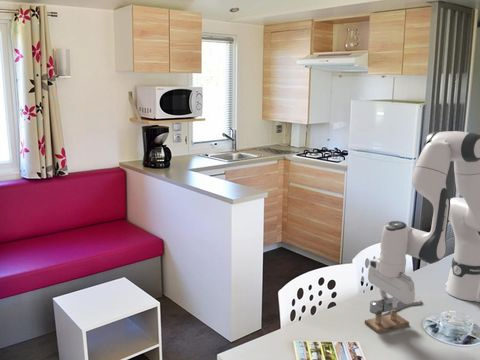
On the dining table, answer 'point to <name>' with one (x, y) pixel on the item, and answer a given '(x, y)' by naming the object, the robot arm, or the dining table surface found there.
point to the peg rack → (386, 322)
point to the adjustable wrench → (416, 302)
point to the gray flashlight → (384, 306)
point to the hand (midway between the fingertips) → (388, 304)
